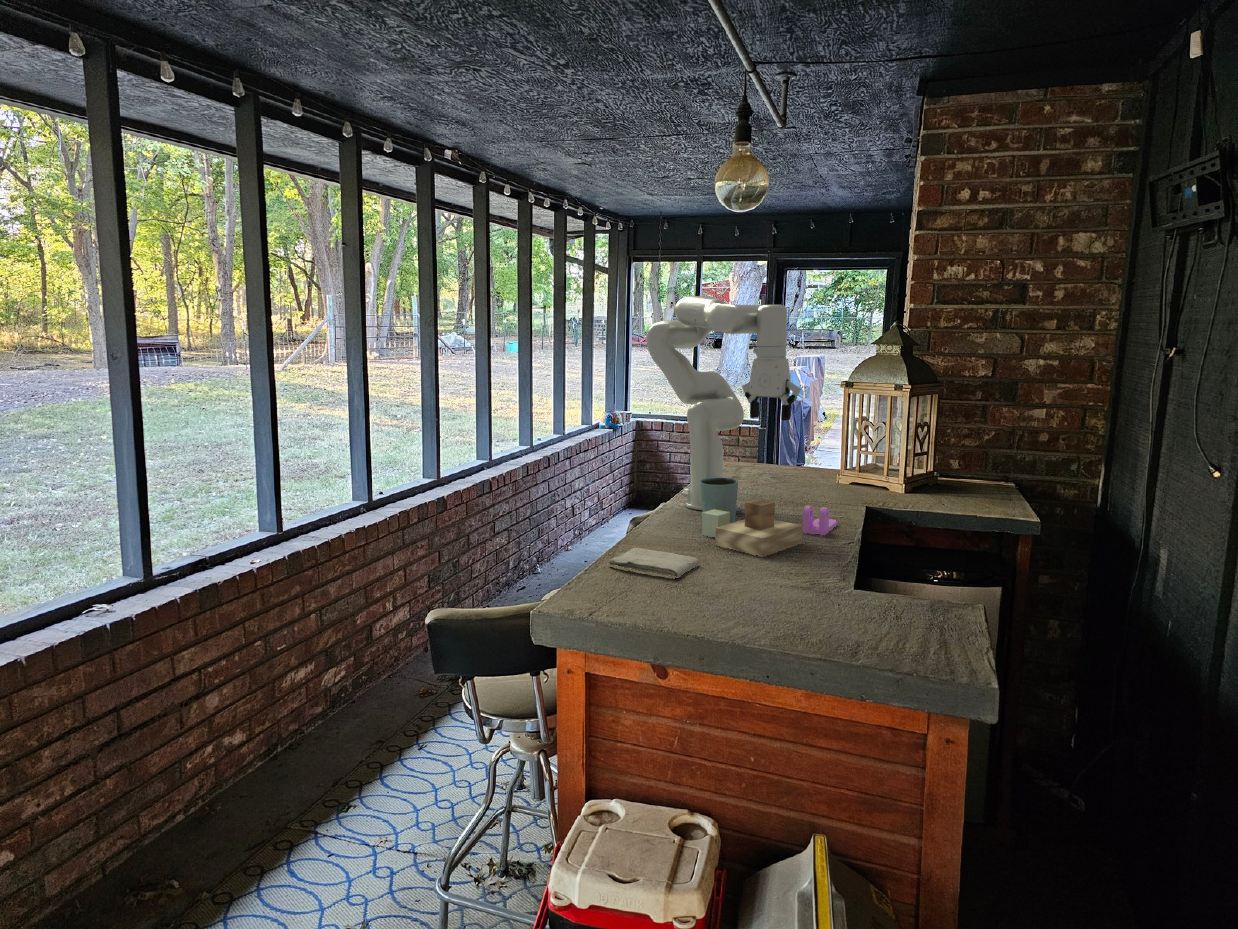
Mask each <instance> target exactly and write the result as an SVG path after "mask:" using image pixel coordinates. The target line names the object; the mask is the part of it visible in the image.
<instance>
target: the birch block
mask: <svg viewBox="0 0 1238 929" xmlns="http://www.w3.org/2000/svg"><path fill="white" fill-rule="evenodd" d="M798 544H799V545H802V544H803V524H798V523H794V522H793V523H791V522H787V521H783V520H776V519H774V527H771V528H767V529H763V530H757V529H754V528H750V527H746V526H745V518H744V519H741V520H737V521H735V522H733V523H730V524H727V525H723V526H720V527H716V538H715V546H716V545H717V546H716V547H719V546H720V548H724V549H727V548H729V549H728V550H731V549H733V550H732V551H735V550H736V552H739V551H742V552H741V553H743V552H745V553H744V554H747V553H749V554H748V555H751V554H752V555H751V556H756V555H758V556H757V557H761V558H765V557H768V556H771V555H773V554H776V553H779V552H781V551H785V550H787V548H788V549H790V548H793V547H796V546H799V545H798ZM778 551H779V552H778ZM767 555H768V556H767ZM764 556H765V557H764Z"/></svg>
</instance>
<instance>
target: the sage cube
mask: <svg viewBox="0 0 1238 929" xmlns="http://www.w3.org/2000/svg"><path fill="white" fill-rule="evenodd" d="M702 512H703V511H702ZM727 524H730V512H726V511H721V510H715V509H713V510H710V511H706V512H703V513H701V535H702V536H703V535H704V536H703V537H707V536H708V538H712V537H715V538H714V539H716V527H720V526H723V525H727Z"/></svg>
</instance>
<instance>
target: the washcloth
mask: <svg viewBox="0 0 1238 929" xmlns="http://www.w3.org/2000/svg"><path fill="white" fill-rule="evenodd" d="M608 562H609V563H608V565H618V566H621V567H624V568H632V569H635V570H638V571H643V572H652V573H657V574H662V575H671V576H676V577H679V576H681V575H683V574H684V573H685V572H687V571H688V570H690V569H692V568H694V569H696V568H697V567H698V566H699V565H700V560H699V559H698V558H697V557H694V556H690V555H683V554H677V553H674V552H666V551H660V550H653V549H648V548H642V547H641V548H640V547H633V548H629V549H628V550H627V551H626V552H624V553H619V554H618V555H616V556H614V557H613V558H610V559H608ZM696 566H697V567H696ZM695 567H696V568H695ZM687 573H688V572H687ZM685 574H686V573H685ZM683 576H684V575H683ZM681 577H682V576H681Z"/></svg>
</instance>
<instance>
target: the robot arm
mask: <svg viewBox="0 0 1238 929" xmlns="http://www.w3.org/2000/svg"><path fill="white" fill-rule="evenodd" d="M674 316H675V317H676V319H673V320H672V319H670V320H668V319H667V320H660V321H657V322H655V323H653V324H652V325H650V327H649V328H648V330H647V333H646V345H647V349H648V353H649V355H650V357H651V359H652V361H654V363H655V365H657V367H658V369H660V371H661V372H662V373H663V375H664V376H665V379H666V380H667V381H668V383H669V385H670V386H671V388H672V390H673V392H674V393H675V394H676V396H677V397H678V399H679V400H680V402H682V404H685V405H689V407H688V409H687V412H686V413H687V414H686V419H687V420H686V421H687V425H688V432H689V440H690V441H689V444H690V445H689V446H690V447H689V448H690V451H689V452H690V453H689V454H690V488H684V489H683V491H682V492H681V496H683V497H687V500H685V503H684V504H685V507H686V508H688V509H691V510H699V511H703V510H702V499H701V489H700V481H701V480H703V479H706V478H714V477H724V445H723V441H722V439H721V438H720V436H719V434H718V432H721V431H728V430H735V429H737V428H739V427H740V426H741V425H742V423H743V422H744V418H745V415H744V414H745V413H744V408H743V406H742V403H741V402H740V400H739V398H738V397H737V395H736V394H735V392H734V390H733V389H732V388H731V386H730V385H729V383H728V381H727V380H726V379H725V378H724V376H722V374H720V373H718V372H716V371H698V370H697V369H696V368H694V367H693V365H692V363H691V361H690V359H688V358H687V357H686V355H684V354H683V353H681V352H680V351H678V350H677V349H690V348H691V349H692V348H695V347H698V346H699V345H700V344H702V342H703V341H704V340H705V339H706V338H707V337H708V335H709V334H711V332H712V331H713V332H717V333H722V334H731V335H734V334H736V335H740V334H741V335H742V334H744V335H745V334H750V335H751V334H753V335H754V334H756V348H753V351H752V352H753V354H754V355H755V354H756V358H753V360H752V363H751V364H752V365H751V371H750V379H749V381H748V382H747V383H744V384H743V385H742V386H741V389H742V391H743V393H744V397H745V398H746V399H747V402H748V403H749V415H750V419H755V418H759V417H760V402H759V399H760V398H776V399H777V398H779V399H780V400H781V402H782V403H783V404H782V405H781V414H780V415H781V418H780V420H781V421H790V420H791V416H792V405H793V404H794V402H795V401H796V400H797V399H798V396H799V394H800V393H801V388H800V387H799V386H798V385H796V384H795V383H793V382H791V370H790V364H789V359H788V358H787V324H788V323H787V320H788V319H787V318H788V309H787V307H786V306H785V305H783V304H763V305H762V304H729V303H727V304H726V303H725V302H724V300H722V299H720V298H716V297H714V296H709V295H708V296H707V295H701V296H700V295H687V296H685V297H682V298H681V299H679V300H678V301H677V302H676V304H675V306H674ZM791 391H792V393H791ZM790 394H791V395H790Z"/></svg>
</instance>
